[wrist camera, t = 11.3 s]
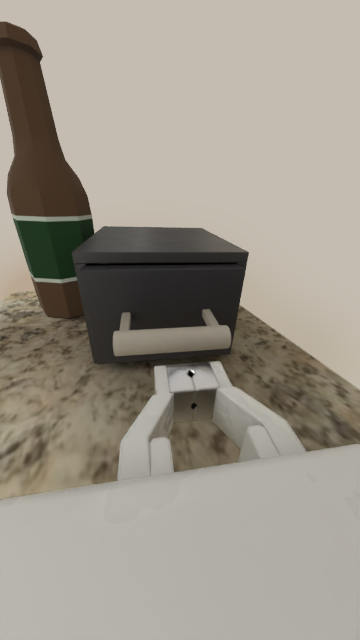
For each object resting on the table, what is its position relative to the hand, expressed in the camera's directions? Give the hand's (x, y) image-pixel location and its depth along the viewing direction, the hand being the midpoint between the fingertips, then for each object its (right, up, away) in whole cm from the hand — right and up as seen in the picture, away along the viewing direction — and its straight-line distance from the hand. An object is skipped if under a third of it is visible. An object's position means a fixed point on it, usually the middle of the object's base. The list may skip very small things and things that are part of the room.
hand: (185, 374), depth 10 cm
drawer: (-2, +1, +13) cm, 13 cm away
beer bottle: (-14, +4, +19) cm, 24 cm away
